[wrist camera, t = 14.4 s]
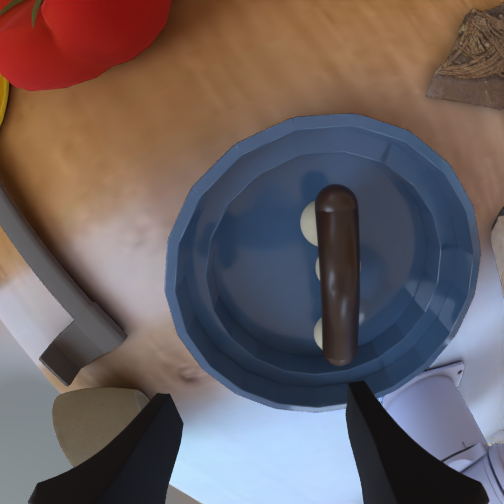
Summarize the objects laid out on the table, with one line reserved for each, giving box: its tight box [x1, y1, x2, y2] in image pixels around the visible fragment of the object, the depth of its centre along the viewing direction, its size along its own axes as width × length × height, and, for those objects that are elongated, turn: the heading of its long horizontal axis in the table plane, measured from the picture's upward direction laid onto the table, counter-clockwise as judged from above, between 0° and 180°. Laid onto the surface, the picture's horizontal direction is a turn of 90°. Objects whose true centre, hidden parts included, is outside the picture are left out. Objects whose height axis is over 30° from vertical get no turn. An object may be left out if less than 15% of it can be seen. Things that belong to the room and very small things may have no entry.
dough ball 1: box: [300, 201, 318, 246], centre depth 16 cm, size 3×3×3 cm
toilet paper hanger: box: [0, 180, 128, 386], centre depth 18 cm, size 20×8×3 cm, turn 37°
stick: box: [315, 184, 360, 366], centre depth 15 cm, size 10×2×2 cm, turn 8°
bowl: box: [164, 113, 481, 413], centre depth 17 cm, size 17×17×4 cm
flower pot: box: [52, 387, 150, 467], centre depth 21 cm, size 10×10×7 cm
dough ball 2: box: [314, 317, 322, 349], centre depth 18 cm, size 3×3×3 cm
